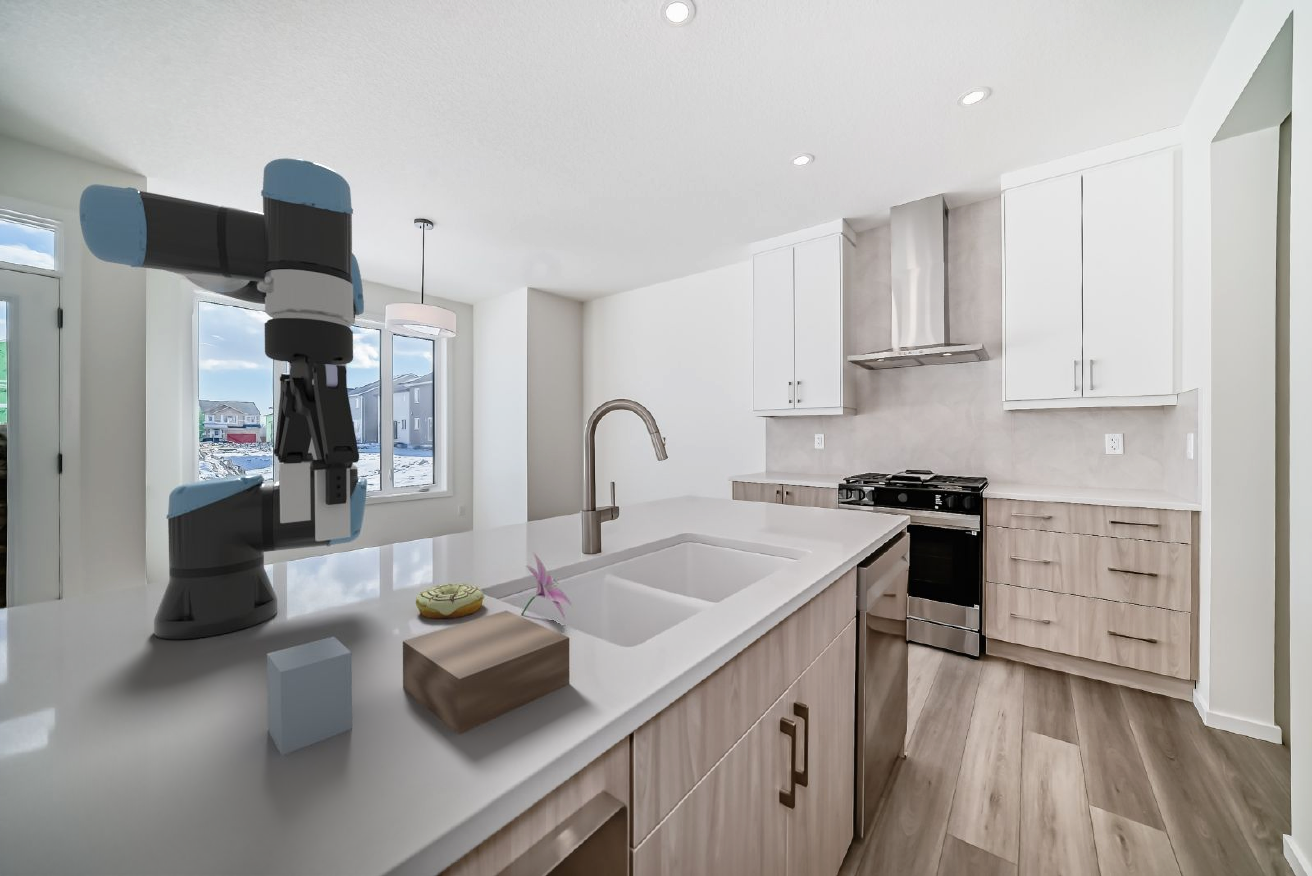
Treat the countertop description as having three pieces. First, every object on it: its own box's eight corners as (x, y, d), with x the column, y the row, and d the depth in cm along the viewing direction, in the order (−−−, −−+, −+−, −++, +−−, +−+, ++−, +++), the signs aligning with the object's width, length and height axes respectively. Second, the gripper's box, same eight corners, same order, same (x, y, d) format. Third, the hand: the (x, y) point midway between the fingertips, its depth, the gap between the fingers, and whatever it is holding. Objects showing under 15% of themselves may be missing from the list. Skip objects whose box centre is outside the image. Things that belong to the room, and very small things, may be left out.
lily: (536, 641, 78) (568, 583, 79) (482, 600, 82) (513, 547, 84) (571, 636, 89) (599, 586, 90) (522, 601, 93) (548, 553, 94)
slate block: (268, 730, 53) (267, 653, 53) (334, 707, 57) (333, 636, 57) (281, 756, 49) (280, 672, 49) (352, 729, 53) (351, 652, 53)
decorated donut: (450, 626, 81) (449, 602, 81) (402, 616, 86) (401, 594, 86) (495, 605, 91) (495, 584, 91) (450, 597, 95) (450, 577, 95)
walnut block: (403, 690, 61) (402, 640, 61) (506, 653, 72) (506, 610, 72) (459, 737, 52) (459, 679, 52) (569, 686, 62) (569, 637, 62)
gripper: (240, 333, 58) (243, 519, 59) (299, 293, 41) (302, 555, 42) (317, 341, 64) (319, 511, 64) (396, 309, 47) (398, 541, 47)
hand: (312, 529), depth 53 cm, fingers open, 13 cm apart
